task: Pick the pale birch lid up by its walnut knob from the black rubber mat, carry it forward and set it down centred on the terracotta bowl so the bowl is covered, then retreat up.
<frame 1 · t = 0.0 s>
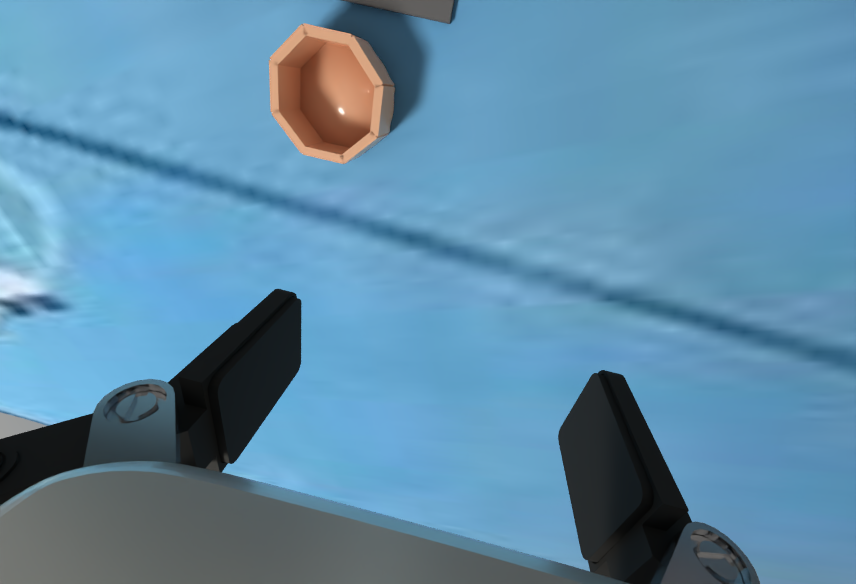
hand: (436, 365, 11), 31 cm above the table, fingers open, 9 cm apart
bowl: (345, 99, 36), on the table
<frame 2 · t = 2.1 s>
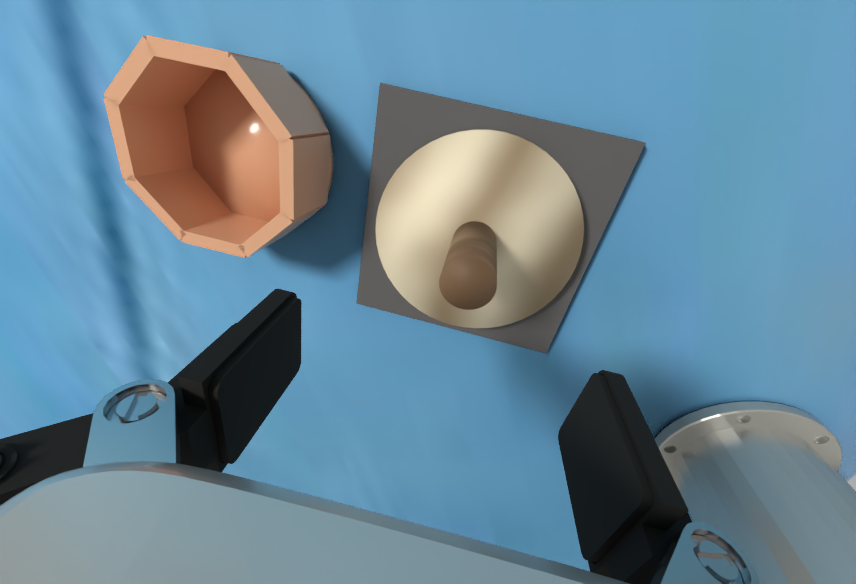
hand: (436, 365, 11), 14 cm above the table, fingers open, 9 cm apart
bowl: (259, 151, 23), on the table
lid: (475, 237, 23), point 1 cm above the table, touching mat
mat: (475, 234, 23), on the table
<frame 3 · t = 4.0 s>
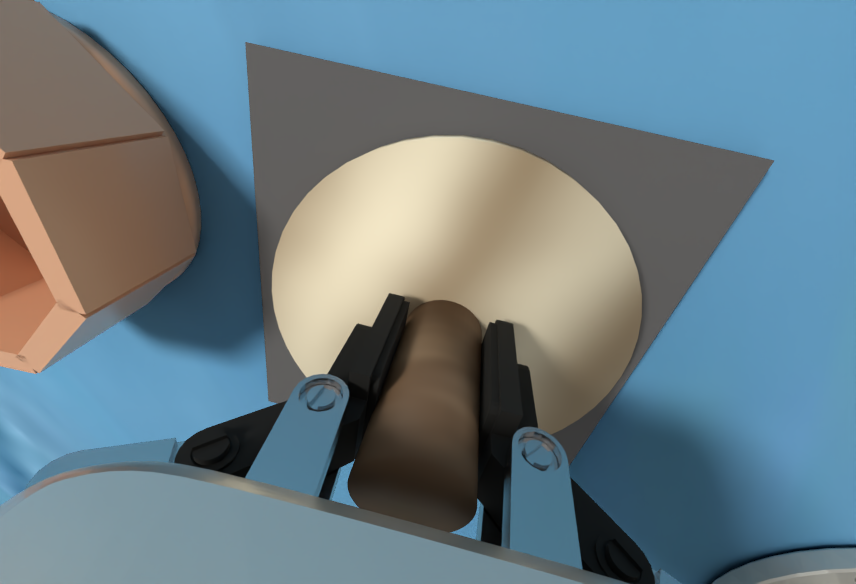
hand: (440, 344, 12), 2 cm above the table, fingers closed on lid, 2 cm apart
bowl: (70, 170, 14), on the table
lid: (445, 318, 13), point 1 cm above the table, touching gripper, mat
mat: (446, 308, 14), on the table
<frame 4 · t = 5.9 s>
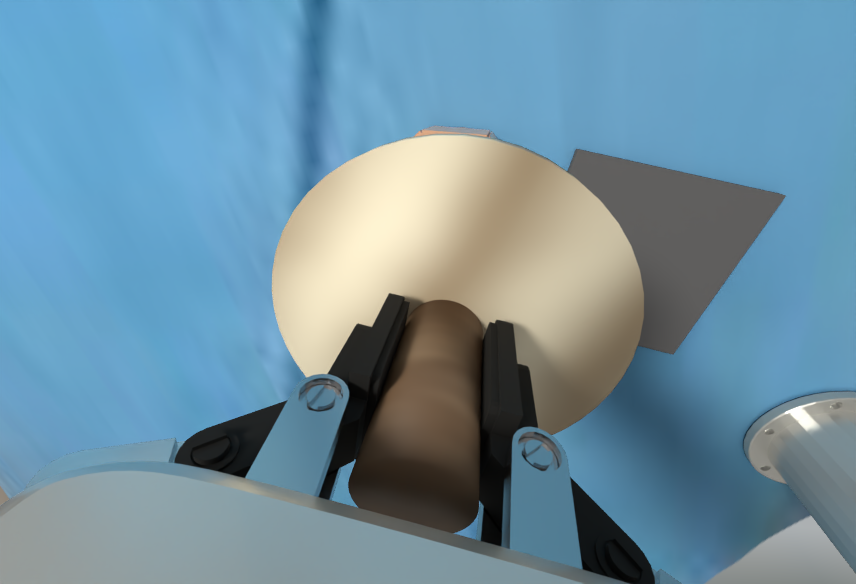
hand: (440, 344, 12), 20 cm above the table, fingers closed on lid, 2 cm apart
bowl: (456, 196, 29), on the table
lid: (446, 317, 13), point 18 cm above the table, touching gripper
mat: (628, 261, 29), on the table
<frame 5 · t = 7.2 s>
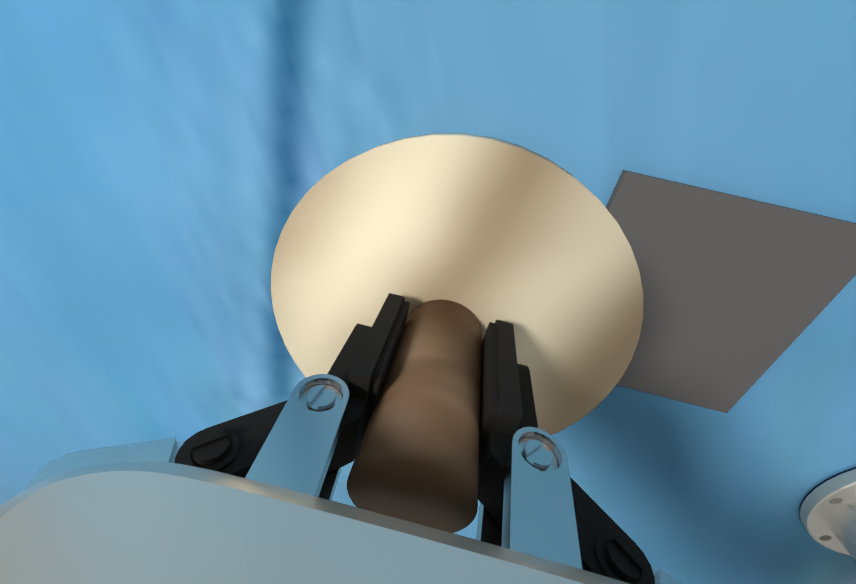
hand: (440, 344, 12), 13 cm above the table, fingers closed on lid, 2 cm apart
lid: (445, 317, 13), point 12 cm above the table, touching gripper
mat: (679, 305, 24), on the table
when the fingers open (8 cm above the table, at t = 8.3 s): lid drops 2 cm, resting on bowl.
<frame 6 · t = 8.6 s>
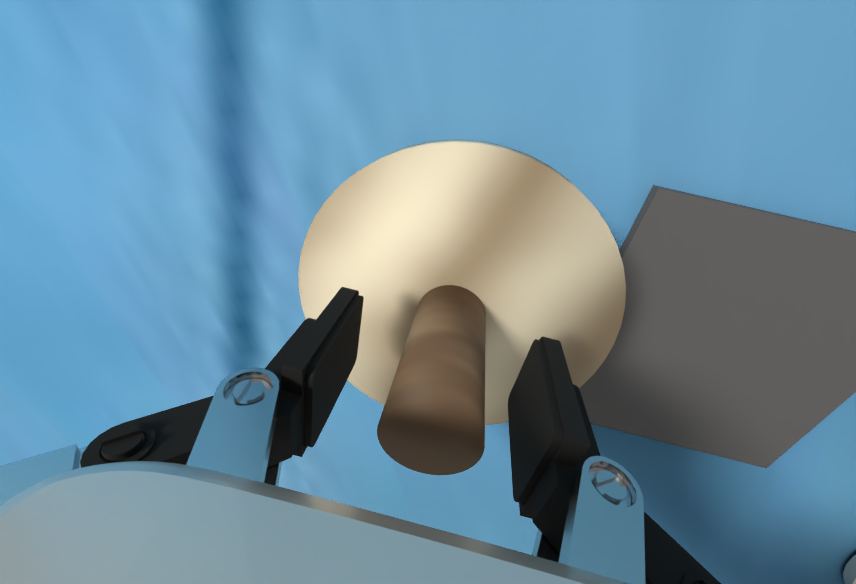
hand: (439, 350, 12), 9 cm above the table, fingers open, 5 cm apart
lid: (453, 302, 15), point 5 cm above the table, touching bowl
mat: (716, 347, 20), on the table
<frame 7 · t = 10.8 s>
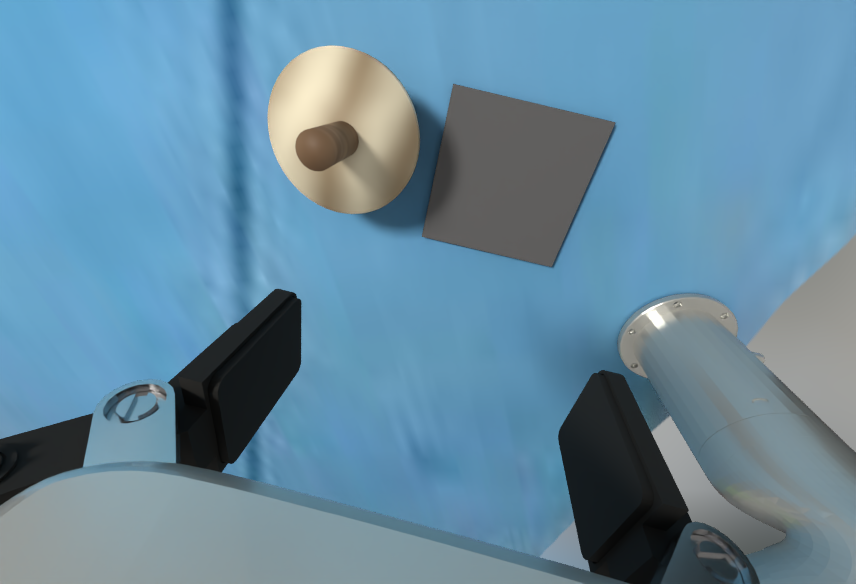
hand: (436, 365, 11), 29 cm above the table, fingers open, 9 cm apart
lid: (346, 137, 30), point 5 cm above the table, touching bowl
mat: (507, 184, 36), on the table
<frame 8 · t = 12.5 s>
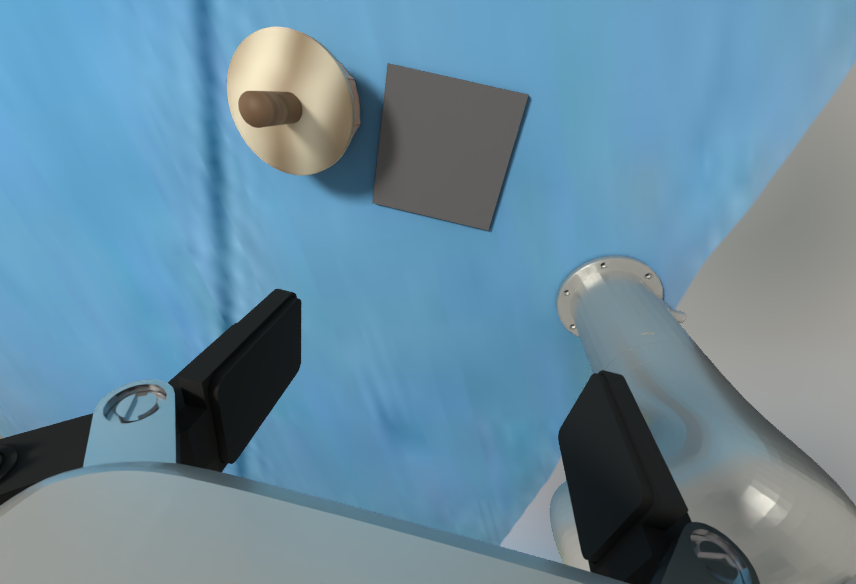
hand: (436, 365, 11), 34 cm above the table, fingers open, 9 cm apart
bowl: (316, 104, 40), on the table, touching lid
lid: (293, 107, 35), point 5 cm above the table, touching bowl
mat: (443, 153, 40), on the table
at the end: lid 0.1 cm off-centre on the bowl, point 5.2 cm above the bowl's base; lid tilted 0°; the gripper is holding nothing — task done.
